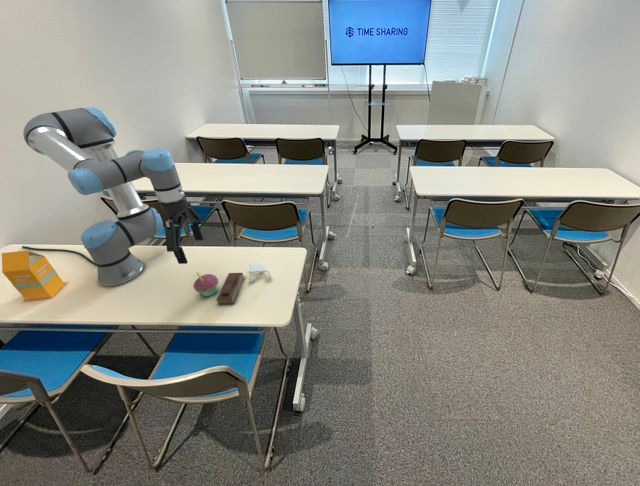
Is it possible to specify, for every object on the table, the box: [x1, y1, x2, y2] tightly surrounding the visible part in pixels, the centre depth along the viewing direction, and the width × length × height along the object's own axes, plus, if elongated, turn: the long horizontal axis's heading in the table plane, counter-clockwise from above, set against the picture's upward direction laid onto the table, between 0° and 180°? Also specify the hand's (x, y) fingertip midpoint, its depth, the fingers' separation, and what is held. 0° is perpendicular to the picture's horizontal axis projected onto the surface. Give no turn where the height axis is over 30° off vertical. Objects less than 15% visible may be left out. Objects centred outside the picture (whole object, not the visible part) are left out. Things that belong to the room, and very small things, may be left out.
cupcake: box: [193, 271, 219, 297], centre depth 112 cm, size 9×8×12 cm
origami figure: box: [247, 263, 272, 283], centre depth 120 cm, size 12×8×5 cm
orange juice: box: [1, 250, 65, 301], centre depth 110 cm, size 8×9×20 cm
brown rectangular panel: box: [216, 272, 245, 306], centre depth 114 cm, size 14×6×4 cm, turn 3°
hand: (191, 250), depth 105 cm, fingers open, 13 cm apart
